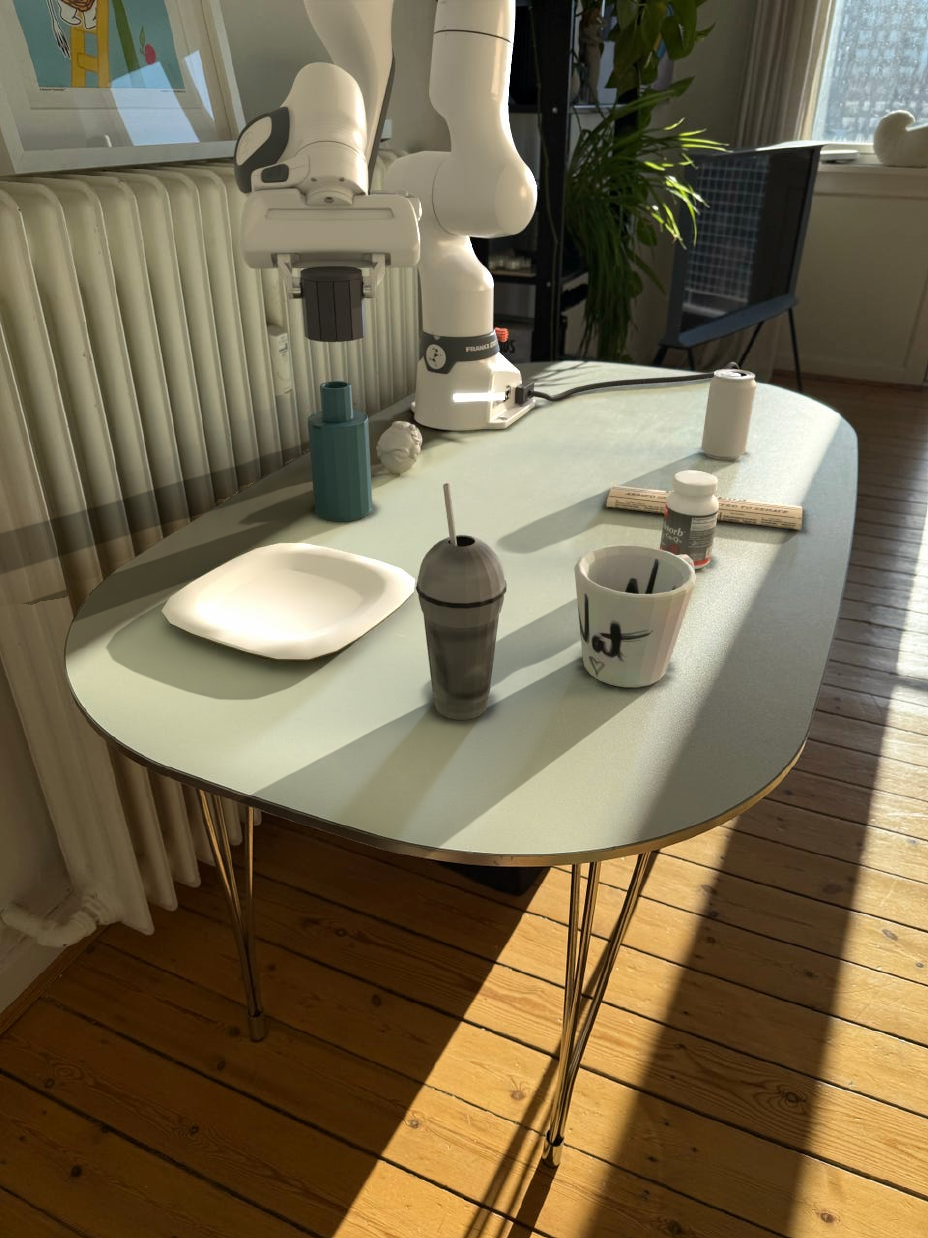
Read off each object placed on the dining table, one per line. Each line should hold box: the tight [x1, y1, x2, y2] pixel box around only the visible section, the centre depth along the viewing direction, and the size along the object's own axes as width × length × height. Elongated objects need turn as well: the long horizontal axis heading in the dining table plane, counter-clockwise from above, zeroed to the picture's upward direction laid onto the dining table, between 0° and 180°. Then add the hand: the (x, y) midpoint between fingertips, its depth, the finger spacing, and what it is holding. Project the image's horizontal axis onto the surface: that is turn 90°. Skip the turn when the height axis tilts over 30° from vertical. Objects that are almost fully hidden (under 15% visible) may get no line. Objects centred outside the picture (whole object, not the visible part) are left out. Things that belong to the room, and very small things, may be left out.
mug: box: [573, 544, 697, 688], centre depth 82 cm, size 10×15×10 cm
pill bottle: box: [659, 469, 719, 570], centre depth 100 cm, size 6×6×10 cm
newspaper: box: [605, 484, 803, 531], centre depth 114 cm, size 24×7×2 cm, turn 73°
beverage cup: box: [415, 482, 508, 721], centre depth 72 cm, size 7×7×20 cm
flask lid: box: [299, 266, 367, 343], centre depth 101 cm, size 7×7×7 cm
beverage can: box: [700, 368, 757, 461], centre depth 130 cm, size 6×6×12 cm
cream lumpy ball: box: [375, 420, 423, 475], centre depth 125 cm, size 6×7×7 cm
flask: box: [307, 380, 373, 523], centre depth 110 cm, size 7×7×16 cm
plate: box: [161, 542, 416, 662], centre depth 92 cm, size 22×22×2 cm
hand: (332, 295), depth 100 cm, fingers closed on flask lid, 7 cm apart
